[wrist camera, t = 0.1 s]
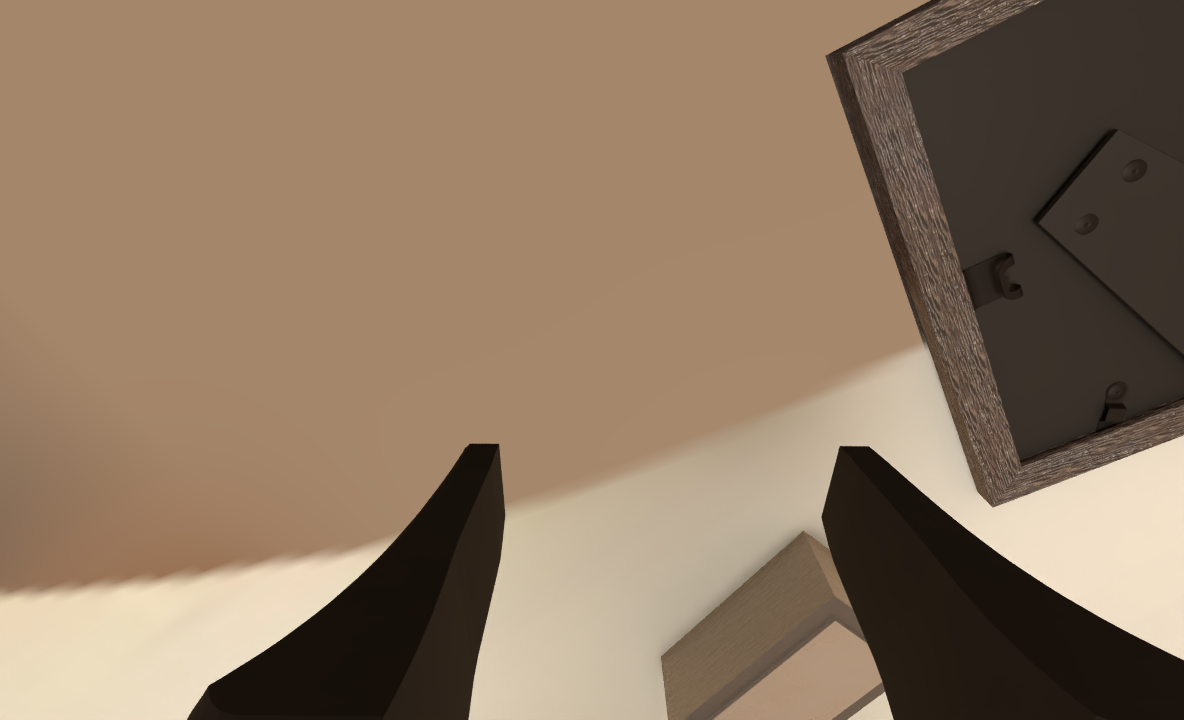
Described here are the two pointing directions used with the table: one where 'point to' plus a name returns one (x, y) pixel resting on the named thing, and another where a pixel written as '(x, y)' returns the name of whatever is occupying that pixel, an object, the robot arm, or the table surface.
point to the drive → (776, 648)
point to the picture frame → (1034, 220)
